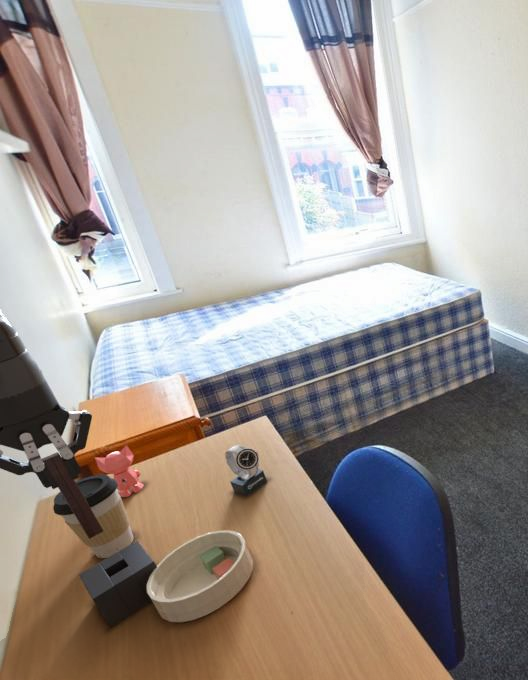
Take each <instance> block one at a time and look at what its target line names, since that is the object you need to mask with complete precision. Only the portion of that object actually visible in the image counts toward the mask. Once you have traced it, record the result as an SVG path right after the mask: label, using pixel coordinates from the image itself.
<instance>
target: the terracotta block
mask: <svg viewBox="0 0 528 680" xmlns="http://www.w3.org/2000/svg"><path fill="white" fill-rule="evenodd" d="M233 565H234V562H233V561H232V560H231V559H230V558H227V559H226V560H224V561H223V562H221V563H220V564H218V565H217V566H215V567H214V568H212V570H213V572H214V574H215V576H216V579H217V580H218V579H220V578H221V577H222V576H223V575H224V574H225V573H226V572H227V571H228V570H229V569H230V568H231V567H232V566H233Z"/></svg>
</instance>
